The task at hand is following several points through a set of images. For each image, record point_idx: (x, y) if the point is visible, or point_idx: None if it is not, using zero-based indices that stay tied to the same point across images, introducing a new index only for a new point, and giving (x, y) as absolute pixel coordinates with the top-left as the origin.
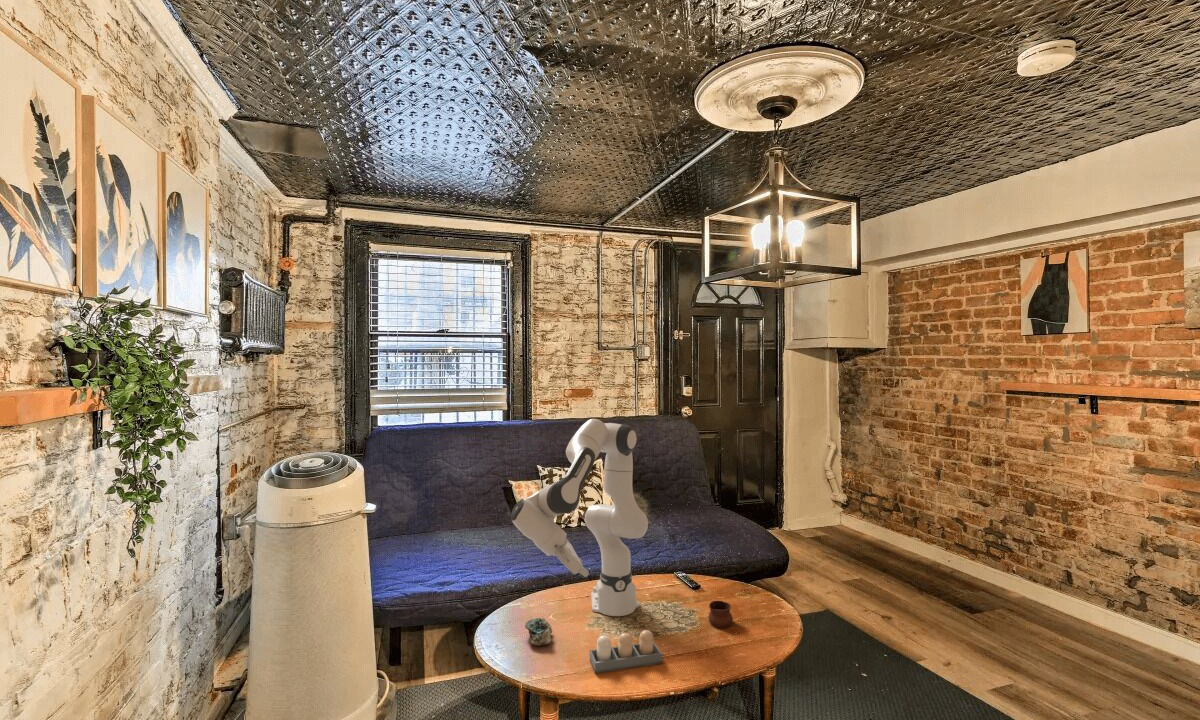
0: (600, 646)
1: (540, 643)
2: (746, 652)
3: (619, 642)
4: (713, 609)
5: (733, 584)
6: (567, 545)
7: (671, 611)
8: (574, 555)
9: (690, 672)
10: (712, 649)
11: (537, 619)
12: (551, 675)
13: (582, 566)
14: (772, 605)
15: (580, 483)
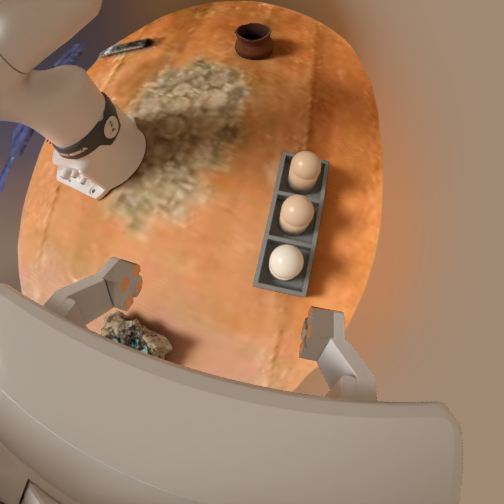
0: (296, 275)
1: (164, 358)
2: (339, 67)
3: (299, 226)
4: (257, 40)
5: (175, 14)
6: (71, 445)
7: (181, 84)
8: (355, 482)
9: (363, 148)
10: (316, 89)
11: None
12: (266, 374)
13: (445, 405)
14: (248, 5)
15: None
